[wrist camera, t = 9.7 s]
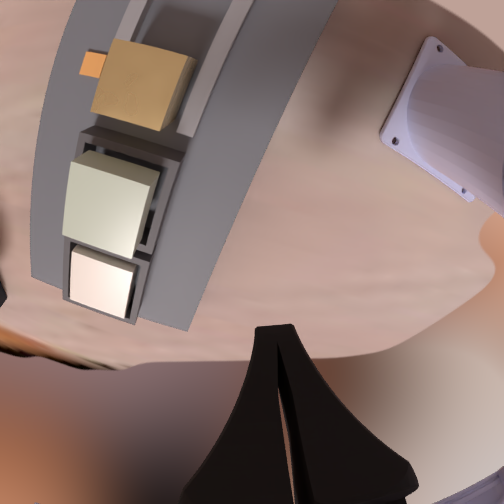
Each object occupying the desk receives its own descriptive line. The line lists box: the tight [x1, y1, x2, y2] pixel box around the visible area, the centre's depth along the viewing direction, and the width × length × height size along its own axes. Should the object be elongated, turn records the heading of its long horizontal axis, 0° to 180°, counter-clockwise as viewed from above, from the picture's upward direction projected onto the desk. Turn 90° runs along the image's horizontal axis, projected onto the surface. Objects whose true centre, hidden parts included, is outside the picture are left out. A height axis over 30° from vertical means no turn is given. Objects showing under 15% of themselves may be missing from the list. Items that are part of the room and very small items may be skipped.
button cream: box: [70, 244, 139, 319], centre depth 16 cm, size 4×4×2 cm
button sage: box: [62, 150, 160, 259], centre depth 13 cm, size 4×4×2 cm
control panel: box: [30, 0, 338, 332], centre depth 14 cm, size 12×23×4 cm, turn 157°
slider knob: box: [90, 38, 198, 131], centre depth 11 cm, size 3×3×3 cm
